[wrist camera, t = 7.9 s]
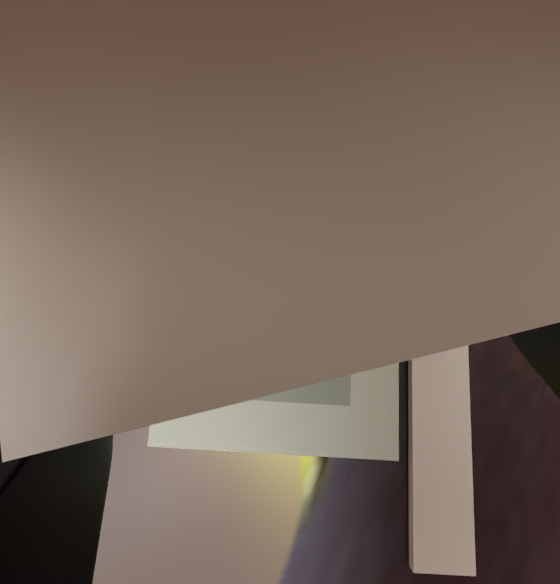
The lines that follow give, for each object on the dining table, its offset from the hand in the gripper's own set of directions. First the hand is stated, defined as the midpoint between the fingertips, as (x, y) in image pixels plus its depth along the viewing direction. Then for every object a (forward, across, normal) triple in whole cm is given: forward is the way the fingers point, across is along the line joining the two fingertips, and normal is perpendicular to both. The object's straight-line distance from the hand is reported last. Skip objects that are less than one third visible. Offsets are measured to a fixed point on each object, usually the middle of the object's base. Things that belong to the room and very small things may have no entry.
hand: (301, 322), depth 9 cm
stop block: (+7, 0, +4) cm, 8 cm away
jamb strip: (+4, -6, +7) cm, 10 cm away
